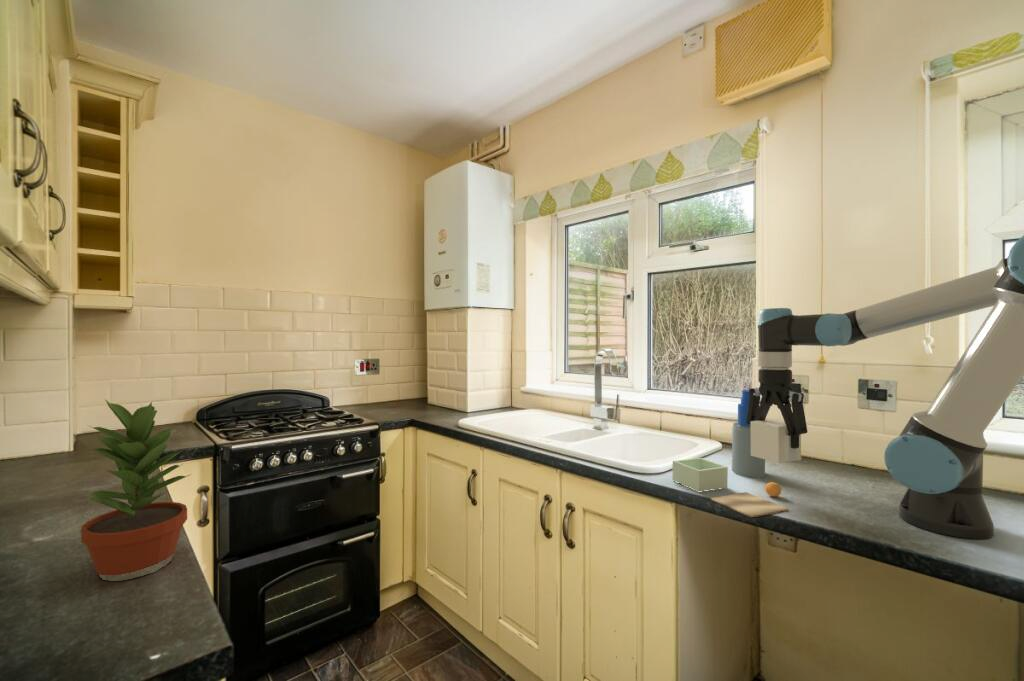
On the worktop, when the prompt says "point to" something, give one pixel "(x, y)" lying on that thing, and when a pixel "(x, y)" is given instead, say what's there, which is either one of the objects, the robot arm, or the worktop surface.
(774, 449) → the block
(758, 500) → the mat
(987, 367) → the robot arm
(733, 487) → the worktop surface
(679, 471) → the tub
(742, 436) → the spray bottle
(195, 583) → the worktop surface
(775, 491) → the ball
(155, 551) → the potted plant
